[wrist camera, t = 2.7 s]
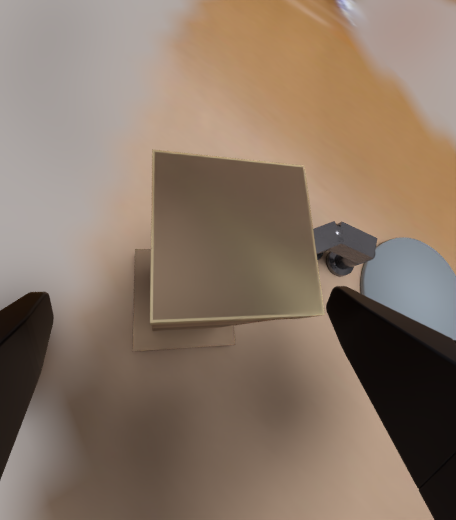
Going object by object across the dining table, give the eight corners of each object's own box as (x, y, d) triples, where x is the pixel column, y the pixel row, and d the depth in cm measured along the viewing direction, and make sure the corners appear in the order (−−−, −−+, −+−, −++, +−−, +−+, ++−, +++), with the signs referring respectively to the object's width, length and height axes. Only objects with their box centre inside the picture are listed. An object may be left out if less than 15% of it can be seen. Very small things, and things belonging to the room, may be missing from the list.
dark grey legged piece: (349, 301, 20) (390, 294, 17) (244, 279, 19) (266, 266, 15) (350, 247, 22) (389, 229, 18) (252, 222, 20) (273, 197, 16)
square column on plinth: (229, 344, 17) (368, 357, 6) (134, 350, 16) (91, 382, 5) (224, 256, 19) (331, 137, 8) (136, 254, 17) (107, 106, 6)
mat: (463, 365, 21) (470, 366, 21) (359, 347, 20) (364, 347, 19) (453, 253, 24) (459, 251, 24) (361, 228, 22) (365, 225, 22)
